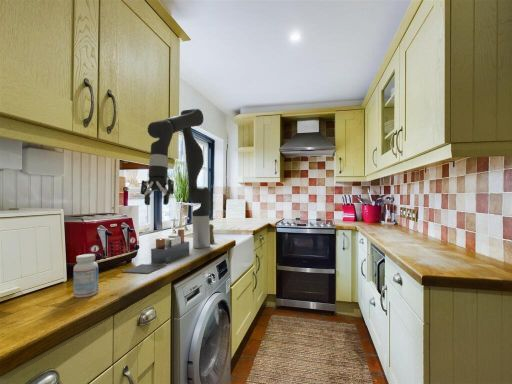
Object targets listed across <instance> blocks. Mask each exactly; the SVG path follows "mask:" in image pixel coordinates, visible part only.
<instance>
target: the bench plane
mask: <svg viewBox="0 0 512 384" xmlns="http://www.w3.org/2000/svg"><path fill="white" fill-rule="evenodd" d="M177 235H179V237H181V244H178V245H175V246H172V247H165V239H164V238H156V239H155V247H153V248H151V249H150V260H151V261H150V262H151V263H150V264H155V265H167V264H169V263H171V262H173V261H176V260H178V259H181V258H183V257H185V256H187V255H190V241H187V240H186V241H185V229H184V228H183V229H182V228H181V229H180V228H179V229H177Z"/></svg>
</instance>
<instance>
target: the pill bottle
mask: <svg viewBox="0 0 512 384" xmlns="http://www.w3.org/2000/svg"><path fill="white" fill-rule="evenodd" d="M75 258H76V259H75V260H76V264H75V265H74V266H73V271H72V272H73V273H72V275H73V277H72V278H73V296H74V297H75V298H76V299H77V298H78V299H79V298H80V299H81V298H82V299H83V298H89V297H92V296H95V295H96V294H98V293H99V290H100V289H99V265H98V263H97V262H96V261H95V260H96V254H95V253H84V254H81V255H76V257H75Z"/></svg>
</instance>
